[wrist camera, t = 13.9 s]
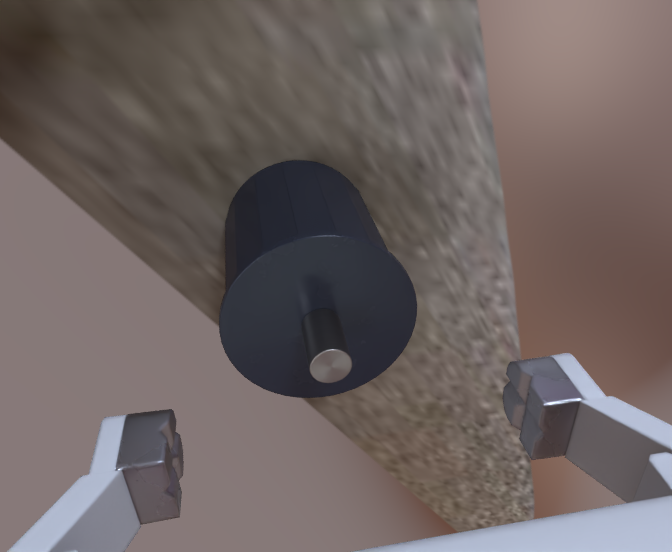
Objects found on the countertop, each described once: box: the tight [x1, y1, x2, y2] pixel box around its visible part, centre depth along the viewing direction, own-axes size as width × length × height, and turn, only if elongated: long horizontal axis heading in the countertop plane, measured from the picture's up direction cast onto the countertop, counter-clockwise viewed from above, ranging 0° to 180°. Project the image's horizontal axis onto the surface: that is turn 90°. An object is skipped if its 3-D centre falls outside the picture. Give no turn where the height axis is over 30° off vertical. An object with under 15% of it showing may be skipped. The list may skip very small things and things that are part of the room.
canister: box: [225, 160, 388, 290], centre depth 41 cm, size 11×11×12 cm
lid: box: [219, 231, 417, 398], centre depth 34 cm, size 12×12×5 cm
